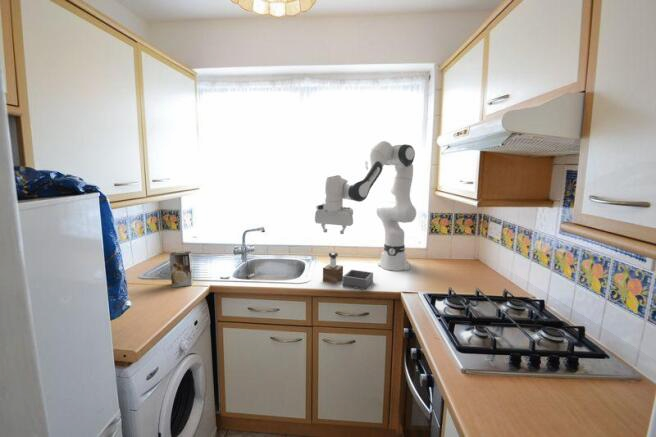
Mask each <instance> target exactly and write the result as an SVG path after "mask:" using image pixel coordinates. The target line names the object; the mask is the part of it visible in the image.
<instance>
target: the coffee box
mask: <svg viewBox="0 0 656 437" xmlns="http://www.w3.org/2000/svg"><path fill="white" fill-rule="evenodd" d="M192 262H193V261H192V252H191V251H175V252H171V253H170V254H169V265H170V266H169V267H170V268H169V269H170V279H171V280H170V281H171V287H172V288H179V287H188V286H189V287H190V286H192V285H193V282H194V279H193V278H194V277H193V266H192V264H193V263H192Z"/></svg>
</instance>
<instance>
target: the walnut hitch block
mask: <svg viewBox="0 0 656 437" xmlns="http://www.w3.org/2000/svg"><path fill="white" fill-rule="evenodd" d="M343 276H344V265H339V264H336V268H330V263H328V264H326V266H324V267H322V281H323V282H326V283H334V284H338V283H340V281H343Z"/></svg>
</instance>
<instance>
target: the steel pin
mask: <svg viewBox="0 0 656 437" xmlns="http://www.w3.org/2000/svg"><path fill="white" fill-rule="evenodd" d="M338 255H339V254H338V252H329V253H328V256H329V257H330V258H329V259H330V260H329V261H330V262H329V264H330V268H336V265H337V257H338Z"/></svg>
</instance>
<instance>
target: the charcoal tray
mask: <svg viewBox="0 0 656 437" xmlns="http://www.w3.org/2000/svg"><path fill="white" fill-rule="evenodd" d="M373 282H374V272H373V271H371V272H370V271H363V270H358V269H357V270H356V269H350V270H349V271H347V272H346V273H345V274H343V279H342V286H343V287H348V288H349V287H350V288H354V289H360V290H367V289H369V287H370V286H371V285H372V283H373Z"/></svg>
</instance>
